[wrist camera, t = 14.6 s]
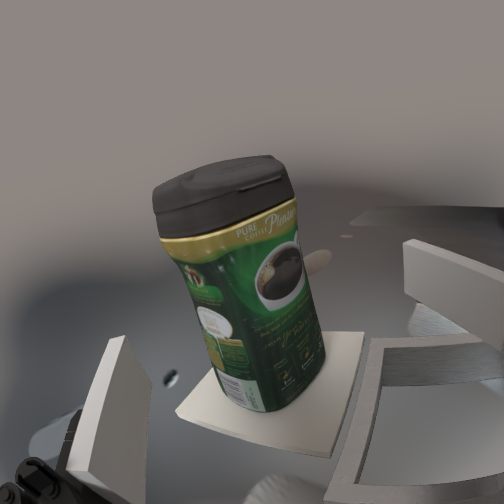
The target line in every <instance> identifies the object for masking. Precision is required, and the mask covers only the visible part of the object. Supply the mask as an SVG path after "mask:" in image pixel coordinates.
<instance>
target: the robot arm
mask: <svg viewBox="0 0 504 504" xmlns="http://www.w3.org/2000/svg"><path fill="white" fill-rule="evenodd" d="M403 256H404V293H406V294H407V295H409V296H411V297H413V298H414V299H416V300H418V301H419V302H421V303H423V304H424V305H426V306H428V307H429V308H431V309H433V310H434V311H436V312H438V313H439V314H441V315H443V316H444V317H446V318H448V319H449V320H451V321H453V322H454V323H456V324H457V325H459V326H461V327H462V328H464V329H465V330H467V331H469V332H470V333H472V334H473V335H475V336H476V337H478V338H480V339H481V340H483V341H484V342H486V343H487V344H489V345H490V346H492V347H494V348H495V349H497V350H498V351H500V352H501V351H502V350H503V349H504V272H503V271H500V270H498V269H496V268H493V267H490V266H488V265H485V264H483V263H480V262H478V261H475V260H472V259H470V258H467V257H464V256H462V255H459V254H456V253H453V252H451V251H448V250H445V249H442V248H439V247H436V246H433V245H430V244H428V243H425V242H421V241H419V240H416V239H411V240H409V241H406V242H404V243H403ZM151 390H152V382H151V380H150V379H149V377H148V376H147V374H146V372H145V370H144V369H143V367H142V365H141V363H140V362H139V360H138V358H137V356H136V355H135V353H134V351H133V349H132V347H131V345H130V344H129V342H128V340H127V338H126V336H125V335H124V336H120V337H116V338H113V339H110V340H109V343H108V345H107V347H106V350H105V353H104V355H103V357H102V360H101V362H100V365H99V367H98V370H97V372H96V375H95V378H94V380H93V383H92V386H91V388H90V391H89V394H88V397H87V400H86V403H85V406H84V408H83V409H81V410H78V411H77V412H76V414H75V415H74V416H73V418H72V419H71V421H70V424H69V427H68V430H67V431H68V433H66V436H65V439H64V440H65V442H63V446H62V449H61V452H60V456H59V459H58V463H57V466H56V470H55V471H54V470H53V469H51V468H50V467H49V466H48V465H47V464H46V463H45V462H44V461H43V460H41V459H39V458H37V457H30V458H27V459H25V460H24V461H23V462H22V463H21V464H20V465H19V467H18V468H17V470H16V474H15V481H16V483H17V484H18V485H19V486H20V487H22V488H23V489H24V490H25V491H23V490H22V489H20V488H19V487H18V486H17V485H15V484H13V483H11V482H7V483H5V484H3V485H2V486H1V487H0V504H145V479H146V451H147V435H148V422H149V421H148V420H149V410H150V400H151Z"/></svg>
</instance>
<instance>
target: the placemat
mask: <svg viewBox="0 0 504 504" xmlns="http://www.w3.org/2000/svg"><path fill="white" fill-rule="evenodd" d="M321 332H322V336H323V341H324V346H325V352H326V358H325V362H324V364H323V366H322V367H321V369H320V371H319V372H318V374H317V375H316V377H315V378H314V379H313V381H312V382H311V383H310V384H309V385H308V387H307V388H306V389H305V390H304V391H303V392H302V393H301V394H300V395H299V396H298V397H297V398H296V399H295V400H293V401H292V402H291V403H290V404H289V405H287V406H286V407H284V408H282V409H281V410H278V411H275V412H268V413H260V412H255V411H251V410H248V409H246V408H243V407H241V406H239V405H238V404H236V403H235V402H233V401H232V400H231V399H230V398H228V397H227V396H226V395H225V394H224V392H223V391H222V389H221V387H220V385H219V382H218V380H217V377H216V375H215V372H214V369H213V367H212V369H211V370H210V371H209V372H208V373H207V375H206V376H205V377H204V378H203V379H202V380H201V382H200V383H199V384H198V385H197V386H196V387H195V388H194V390H193V391H192V392H191V393H190V394H189V395H188V397H187V398H186V399H185V400H184V401H183V402H182V403H181V405H180V406H179V407H178V408H177V409H176V410H175V412H176V413H177V414H178V416H179V417H180V418H183V419H185V420H187V421H190V422H193V423H195V424H198V425H200V426H203V427H206V428H208V429H211V430H214V431H217V432H220V433H223V434H226V435H229V436H232V437H235V438H239V439H242V440H245V441H249V442H252V443H256V444H260V445H264V446H268V447H272V448H276V449H280V450H285V451H290V452H295V453H300V454H305V455H311V456H318V457H324V458H331V456H332V453H333V450H334V447H335V445H336V442H337V439H338V436H339V433H340V430H341V427H342V424H343V421H344V418H345V415H346V412H347V408H348V405H349V402H350V398H351V395H352V391H353V387H354V383H355V379H356V375H357V372H358V368H359V364H360V359H361V354H362V350H363V346H364V340H365V333H364V332H340V331H321Z"/></svg>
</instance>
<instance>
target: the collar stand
mask: <svg viewBox="0 0 504 504" xmlns="http://www.w3.org/2000/svg"><path fill="white" fill-rule="evenodd" d="M499 377H504V349H503V350H502V351H501V352H500V351H498V350H497V349H495V348H494V347H492V346H490V345H489V344H487V343H486V342H484V341H483V340H481V339H480V338H478V337H476V336H475V335H473V334H472V333H463V334H452V335H438V336H421V337H397V338H371V340H370V345H369V351H368V356H367V360H366V365H365V370H364V374H363V379H362V383H361V388H360V391H359V396H358V399H357V403H356V407H355V410H354V414H353V417H352V421H351V424H350V427H349V431H348V434H347V437H346V440H345V443H344V446H343V449H342V452H341V455H340V458H339V460H338V463H337V466H336V468H335V471H334V474H333V476H332V479H331V481H330V484H329V486H328V488H327V491H326V493H325V495H324V498H323V504H504V472H503V473H500V474H496V475H491V476H487V477H482V478H477V479H472V480H466V481H460V482H453V483H443V484H433V485H415V486H381V485H380V486H379V485H363V484H358V482H359V479H360V476H361V472H362V470H363V466H364V463H365V460H366V456H367V452H368V449H369V445H370V441H371V437H372V433H373V429H374V424H375V420H376V415H377V410H378V405H379V400H380V394H381V388H382V386H422V385H441V384H453V383H463V382H472V381H480V380H487V379H493V378H499Z"/></svg>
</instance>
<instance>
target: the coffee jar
mask: <svg viewBox="0 0 504 504" xmlns="http://www.w3.org/2000/svg"><path fill="white" fill-rule="evenodd" d="M152 202H153V210H154V213H155V215H156V221H157V227H158V232H159V236H160V241H161V244H162V246H163V248H164V250H165V251H166V252H167V254H168V255H169V256H170V257H171V259H173V261H174V262H175V263H176V264H177V265H178V267H179V269H180V270H181V272H182V274H183V277H184V279H185V282H186V284H187V287H188V289H189V292H190V294H191V297H192V300H193V303H194V307H195V310H196V313H197V316H198V320H199V323H200V326H201V329H202V333H203V336H204V339H205V342H206V346H207V350H208V353H209V356H210V359H211V363H212V366H213V369H214V372H215V375H216V377H217V380H218V382H219V385H220V387H221V389H222V391H223V392H224V394H225V395H226V396H227V397H228V398H230V399H231V400H232V401H233V402H235V403H236V404H238V405H239V406H241V407H243V408H246V409H248V410H251V411H255V412H260V413H268V412H275V411H278V410H281V409H282V408H284V407H286V406H287V405H289V404H290V403H291V402H292V401H293V400H295V399H296V398H297V397H298V396H299V395H300V394H301V393H302V392H303V391H304V390H305V389H306V388H307V387H308V385H309V384H310V383H311V382H312V381H313V379H314V378H315V377H316V375H317V374H318V372H319V371H320V369H321V367H322V366H323V364H324V362H325V358H326V352H325V346H324V341H323V336H322V332H321V329H320V325H319V322H318V318H317V314H316V311H315V306H314V302H313V299H312V294H311V290H310V286H309V282H308V278H307V274H306V270H305V266H304V261H303V257H302V252H301V248H300V242H299V235H298V226H297V205H296V198H295V197H294V191H293V188H292V185H291V182H290V179H289V177H288V174H287V171H286V169H285V166H284V165H283V164H282V163H281V162H280V161H279V160H277V159H275V158H274V157H273V156H271V155H262V156H253V157H245V158H237V159H232V160H225V161H220V162H216V163H212V164H209V165H205V166H202V167H199V168H197V169H194V170H191V171H189V172H186V173H184V174H182V175H180V176H177V177H175V178H173V179H171V180H169V181H167V182H165V183H163V184H161V185H159V186H157V187H156V188H155V189H154V190H153V196H152Z"/></svg>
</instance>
